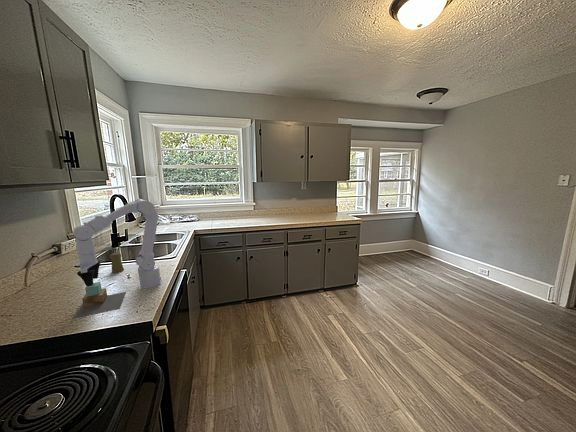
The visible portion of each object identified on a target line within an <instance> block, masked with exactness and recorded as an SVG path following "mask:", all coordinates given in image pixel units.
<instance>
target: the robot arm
mask: <svg viewBox="0 0 576 432" xmlns="http://www.w3.org/2000/svg"><path fill="white" fill-rule="evenodd" d="M130 213H131V214H132V213H133V214H135V213H137V214H138V213H139V214H141V216H143V217H144V218H145V222H144V224H145V225H144V230H143V235H142V242H141V248H140V251H138V255H137V257H136V258H135V264H136V265H137V266H138V267H137V272H138V273H137V274H138V280H139V286H138V290H142V289H147V288H152V287H159V286H161V281H162V276H161V272H160V267H159V266H155V265H156V261H155V254H154V246H155V239H156V234H157V227H158V221H159V215H158V212H157V211H156V208H155V205H154V204H153V203H152V202H151V201H149V200H145V199H142V198H136V199H135V200H132V201H130V202H128V203H125V204H124V205H123V206H121V207H118V209H116V210H114V211H111V212H110V213H109V214H107V215H103V214H100V215H98V214H97V215H95V216H94V218H93V219H91V220H89V221H87V222H86V221H84V222H83V223H82V224H79V225H77V226H76V227H75V228H73V231H72V234H73V236H74V237H75V243H76V244H75V247H76V251H77V257H78V260H79V262H78V263H77V264H76V267H80V269H79V271H77V272H76V274H77V276H78V277H80V278H81V279H82V281H83V283H84V284H85V287H86V286H92V285H93V283H94V280H95V279H98V278H99V269H100V265H101V263H102V262H101V260H100V261H98V259H97V254H96V249H95V244H94V240H93V236H94V235H95V234H97V233H99V232H101V231H103V230H105V229H106V228H108V227H110V226H111V224H112V222H113V221H116V220H117V219H119V218H122V217H123V216H125V215H127V214H130Z"/></svg>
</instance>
